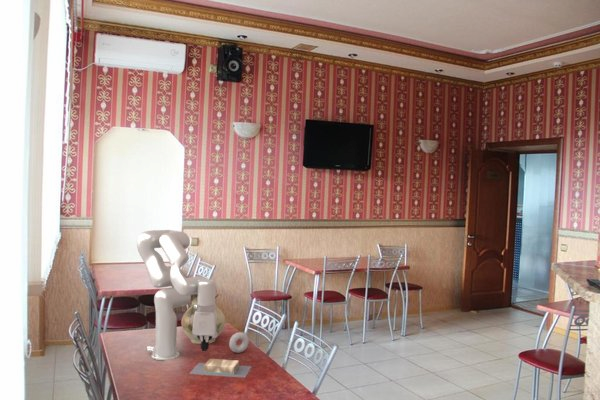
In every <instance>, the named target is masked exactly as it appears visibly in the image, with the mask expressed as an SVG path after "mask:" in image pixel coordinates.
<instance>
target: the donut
mask: <svg viewBox="0 0 600 400" xmlns="http://www.w3.org/2000/svg"><path fill="white" fill-rule="evenodd" d="M239 340H241V343H240V345H237V342H238V341H239ZM249 343H250V340H249V337H248V335H247V334H246V333H244V332H241V331H240V332H239V331H238V332H235V333H234V334H232V336H230V339H229V343H228V345H229V346H228V347H229V348H230V350H231V351H232V352H234V353H236V354H240V353H243V352H244V351H246V349H247V348H248V346H249Z"/></svg>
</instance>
